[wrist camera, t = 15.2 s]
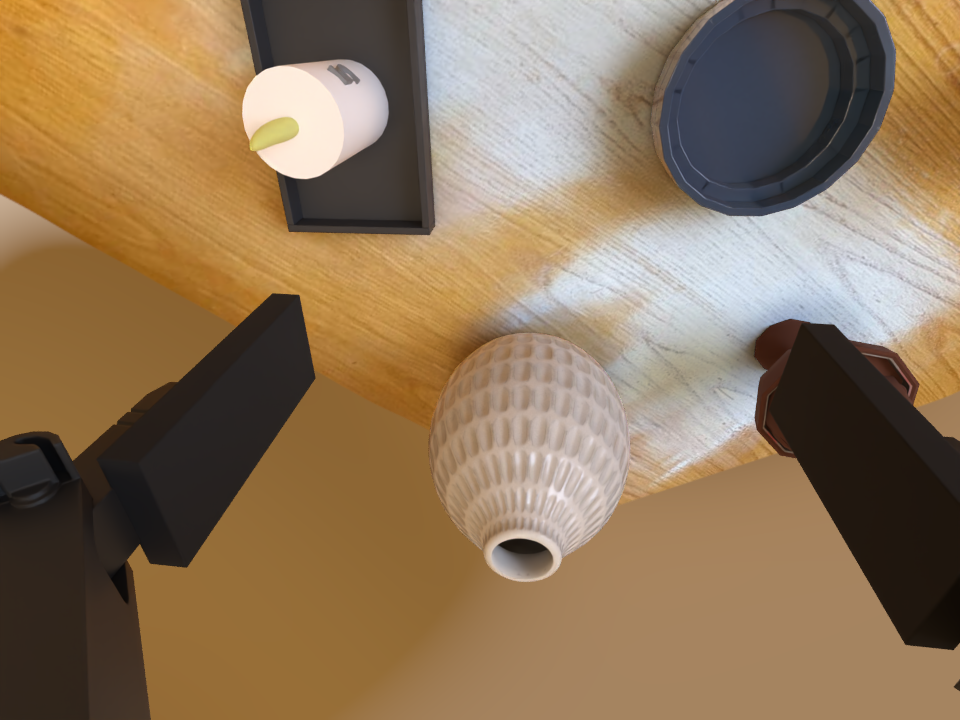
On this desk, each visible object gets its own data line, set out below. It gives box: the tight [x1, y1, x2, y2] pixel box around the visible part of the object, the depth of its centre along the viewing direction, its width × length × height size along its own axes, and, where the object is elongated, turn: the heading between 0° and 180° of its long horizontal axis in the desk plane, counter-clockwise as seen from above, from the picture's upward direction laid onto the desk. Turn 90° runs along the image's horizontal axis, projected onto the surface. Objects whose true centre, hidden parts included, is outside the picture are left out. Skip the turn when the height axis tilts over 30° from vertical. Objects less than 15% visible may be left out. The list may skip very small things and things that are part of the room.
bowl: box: [650, 0, 896, 216], centre depth 36 cm, size 14×14×4 cm
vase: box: [429, 332, 631, 582], centre depth 42 cm, size 16×16×22 cm
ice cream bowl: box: [754, 319, 919, 458], centre depth 41 cm, size 11×11×15 cm
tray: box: [241, 0, 435, 235], centre depth 40 cm, size 19×12×2 cm, turn 1°
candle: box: [242, 59, 389, 179], centre depth 34 cm, size 6×6×15 cm
